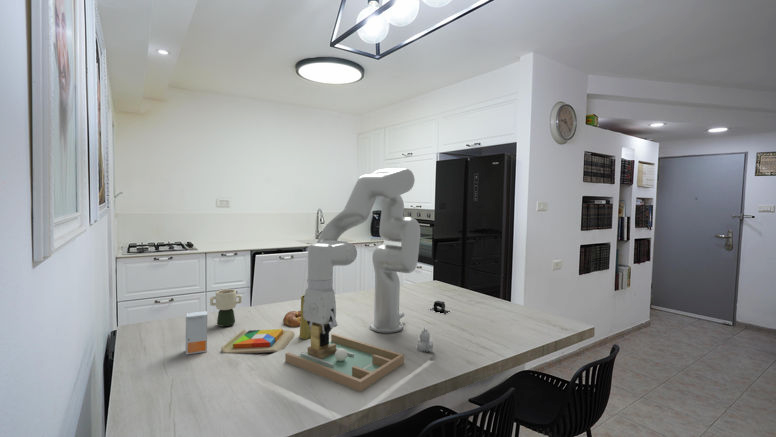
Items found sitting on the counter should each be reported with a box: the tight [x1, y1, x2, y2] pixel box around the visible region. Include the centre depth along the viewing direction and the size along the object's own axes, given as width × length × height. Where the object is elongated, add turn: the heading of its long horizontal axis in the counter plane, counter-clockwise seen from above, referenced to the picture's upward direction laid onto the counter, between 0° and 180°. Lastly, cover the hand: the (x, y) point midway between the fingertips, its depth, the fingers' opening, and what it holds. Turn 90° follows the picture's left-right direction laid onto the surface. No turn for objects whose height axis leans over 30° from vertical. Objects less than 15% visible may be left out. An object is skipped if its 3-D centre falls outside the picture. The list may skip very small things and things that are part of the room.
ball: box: [335, 348, 347, 361], centre depth 107 cm, size 4×4×4 cm
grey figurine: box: [416, 327, 434, 354], centre depth 117 cm, size 5×7×8 cm
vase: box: [299, 294, 311, 340], centre depth 129 cm, size 6×6×14 cm
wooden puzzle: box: [221, 328, 295, 355], centre depth 122 cm, size 18×19×4 cm
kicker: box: [306, 323, 336, 359], centre depth 111 cm, size 7×6×9 cm
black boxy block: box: [429, 300, 451, 315], centre depth 162 cm, size 12×7×5 cm, turn 53°
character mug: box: [209, 288, 243, 327], centre depth 138 cm, size 11×7×13 cm, turn 113°
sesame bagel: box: [282, 310, 301, 328], centre depth 144 cm, size 12×11×4 cm
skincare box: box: [185, 310, 208, 356], centre depth 114 cm, size 6×4×12 cm
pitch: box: [284, 333, 405, 393], centre depth 106 cm, size 20×28×4 cm
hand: (319, 343), depth 112 cm, fingers closed on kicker, 3 cm apart
